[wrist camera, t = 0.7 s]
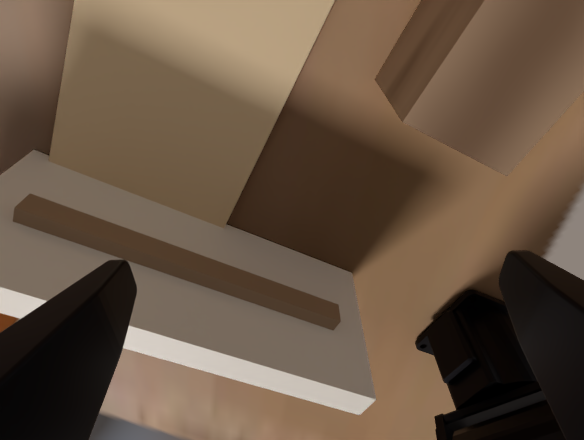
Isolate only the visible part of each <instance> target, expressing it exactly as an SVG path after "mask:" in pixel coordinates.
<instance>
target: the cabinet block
mask: <svg viewBox="0 0 584 440" xmlns="http://www.w3.org/2000/svg"><path fill="white" fill-rule="evenodd" d="M375 81H376V82H377V84H378V85H379V87H380V88H381V90H382V91H383V93H384V94H385V96H386V97H387V99H388V101H389V102H390V104H391V105H392V107H393V108H394V110H395V111H396V113H397V114H398V116H399V118H400V119H401V121H402V122H403V123H405V124H407V125H409V126H411V127H413V128H415V129H417V130H419V131H420V132H422V133H424V134H426V135H428V136H430V137H432V138H434V139H436V140H438V141H440V142H442V143H444V144H446V145H447V146H449V147H451V148H453V149H455V150H457V151H459V152H461V153H463V154H465V155H467V156H469V157H471V158H473V159H474V160H476V161H478V162H480V163H482V164H484V165H486V166H488V167H490V168H492V169H494V170H496V171H498V172H500V173H501V174H503V175H505V176H508V175H509V174H510V173H511V172H512V170H513V169H514V168H515V167H516V166H517V165H518V164H519V163H520V161H521V160H522V159H523V158H524V157H525V156H526V155H527V154H528V153H529V151H530V150H531V149H532V148H533V147H534V146H535V145H536V144H537V143H538V141H539V140H540V139H541V138H542V137H543V136H544V135H545V134H546V133H547V131H548V130H549V129H550V128H551V127H552V126H553V125H554V124H555V123H556V121H557V120H558V119H559V118H560V117H561V116H562V115H563V114H564V113H565V111H566V110H567V109H568V108H569V107H570V106H571V105H572V104H573V103H574V101H575V100H576V99H577V98H578V97H579V96H580V95H581V94H582V93H583V91H584V0H421V2H420V4H419V6H418V7H417V9H416V11H415V12H414V14H413V16H412V17H411V19H410V21H409V22H408V24H407V26H406V27H405V29H404V31H403V32H402V34H401V36H400V38H399V39H398V41H397V43H396V44H395V46H394V48H393V49H392V51H391V53H390V54H389V56H388V58H387V59H386V61H385V63H384V64H383V66H382V68H381V69H380V71H379V73H378V75H377V76H376V78H375Z"/></svg>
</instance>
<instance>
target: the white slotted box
mask: <svg viewBox="0 0 584 440" xmlns="http://www.w3.org/2000/svg"><path fill="white" fill-rule="evenodd" d="M334 1H335V0H75V1H74V7H73V13H72V19H71V25H70V32H69V38H68V44H67V50H66V56H65V62H64V69H63V75H62V81H61V87H60V93H59V99H58V106H57V112H56V118H55V124H54V130H53V137H52V143H51V149H50V155H46V154H44V153H41V152H39V151H36V150H33V151H31V152H30V153H29V154H27V155H26V156H25V157H23V158H22V159H21V160H19V161H18V162H17V163H15V164H14V165H13V166H12V167H10V168H9V169H8V170H6V171H5V172H4V173H2V174H1V175H0V313H2V314H6V315H9V316H13V317H16V318H20V319H21V318H23V317H24V316H26V315H27V314H29V313H30V312H32V311H33V310H35V309H36V308H38V307H39V306H41V305H42V304H44V303H45V302H47V301H48V300H50V299H51V298H53V297H54V296H56V295H57V294H59V293H60V292H62V291H63V290H65V289H66V288H68V287H69V286H71V285H72V284H74V283H75V282H77V281H78V280H80V279H81V278H83V277H84V276H86V275H87V274H89V273H90V272H92V271H93V270H95V269H96V268H98V267H99V266H101V265H102V264H104V263H105V262H107V261H108V260H123V259H124V260H127V261H128V262H129V264H130V267H131V270H132V273H133V276H134V279H135V282H136V285H137V295H136V299H135V303H134V307H133V311H132V315H131V319H130V323H129V327H128V330H127V334H126V338H125V342H124V346H123V348H125V349H129V350H132V351H136V352H139V353H143V354H146V355H150V356H153V357H157V358H160V359H164V360H167V361H171V362H174V363H178V364H181V365H185V366H188V367H192V368H195V369H199V370H202V371H206V372H209V373H213V374H217V375H220V376H224V377H227V378H231V379H234V380H238V381H241V382H245V383H248V384H252V385H255V386H259V387H262V388H266V389H269V390H273V391H276V392H280V393H283V394H287V395H290V396H294V397H297V398H301V399H304V400H308V401H311V402H315V403H318V404H322V405H326V406H329V407H333V408H336V409H340V410H343V411H347V412H350V413H354V414H357V415H360V414H361V413H362V412H363V411H364V410H366V409H367V408H368V407H369V406H370V405H371V404H372V403H373V402H374V401H375V400H376V396H375V391H374V386H373V381H372V375H371V370H370V365H369V360H368V354H367V349H366V344H365V339H364V333H363V328H362V323H361V317H360V312H359V307H358V302H357V296H356V291H355V286H354V281H353V275H352V273H351V272H348V271H346V270H343V269H341V268H338V267H336V266H333V265H330V264H328V263H325V262H323V261H320V260H318V259H315V258H312V257H310V256H307V255H305V254H302V253H299V252H297V251H294V250H292V249H289V248H287V247H284V246H281V245H279V244H276V243H274V242H271V241H268V240H266V239H263V238H261V237H258V236H256V235H253V234H250V233H248V232H245V231H243V230H240V229H237V228H235V227H232V226H230V225H227V224H226V223H227V221H228V219H229V217H230V215H231V213H232V211H233V209H234V207H235V205H236V203H237V201H238V199H239V197H240V194H241V192H242V190H243V188H244V186H245V184H246V182H247V180H248V178H249V176H250V174H251V172H252V170H253V168H254V166H255V164H256V162H257V159H258V157H259V155H260V153H261V151H262V149H263V147H264V145H265V143H266V141H267V139H268V137H269V135H270V133H271V131H272V129H273V127H274V124H275V122H276V120H277V118H278V116H279V114H280V112H281V110H282V108H283V106H284V104H285V102H286V100H287V98H288V96H289V94H290V92H291V89H292V87H293V85H294V83H295V81H296V79H297V77H298V75H299V73H300V71H301V69H302V67H303V65H304V63H305V61H306V59H307V57H308V55H309V52H310V50H311V48H312V46H313V44H314V42H315V40H316V38H317V36H318V34H319V32H320V30H321V28H322V26H323V24H324V22H325V20H326V17H327V15H328V13H329V11H330V9H331V7H332V5H333V3H334Z"/></svg>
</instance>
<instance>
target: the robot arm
mask: <svg viewBox="0 0 584 440" xmlns="http://www.w3.org/2000/svg"><path fill="white" fill-rule="evenodd" d="M499 287H500V290H501V293H502V296H503V299H504V301H505V302H502V301H500V300H498V299H495V298H493V297H490V296H488V295H485V294H483V293H481V292H478V291H476V290H469V291H466V292H465V293H464V294H463V295H462V296H461V297H460V298H459V299H458V300H457V301H456V302H455V303H454V304H453V305H452V306H451V307H450V308H449V309H448V310H447V311H446V312H445V313H444V314H443V315H442V316H440V317H439V318H438V319H437V320H436V321H435V322H434V323H433V324H432V325H431V326H430V327H429V328H428V329H427V330H426V331H425V332H424V333H423V334H422V335H421V336H420V337H419V338H418V339H417V340H416V342H415V344H416V347H417V349H418V350H420V351H423V352H426V353H429V354H432V355H434V357H435V359H436V362H437V365H438V368H439V371H440V373H441V376H442V379H443V381H444V383H447V386H448V388H449V391H450V394H451V397H452V399H453V402H454V405H455V408H456V410H455V411H453V412H450V413H447V414H440V415H437V416H435V423H436V436H437V440H584V280H582V279H580V278H578V277H576V276H575V275H573V274H571V273H569V272H567V271H565V270H564V269H562V268H560V267H558V266H556V265H554V264H553V263H550V262H549V261H547V260H545V259H543V258H541V257H540V256H538V255H536V254H534V253H532V252H530V251H527V250H516V251H510V252H508V254H507V255H506V258H505V261H504V264H503V267H502V270H501V273H500V276H499ZM136 295H137V285H136V282H135V279H134V276H133V273H132V270H131V267H130V264H129V262H128V261H127V260H124V259H123V260H108V261H107V262H105V263H104V264H102V265H101V266H99V267H98V268H96V269H95V270H93V271H92V272H90V273H89V274H87V275H86V276H84V277H83V278H81V279H80V280H78V281H77V282H75V283H74V284H72V285H71V286H69V287H68V288H66V289H65V290H63V291H62V292H60V293H59V294H57V295H56V296H54V297H53V298H51V299H50V300H48V301H47V302H45V303H44V304H42V305H41V306H39V307H38V308H36V309H35V310H33V311H32V312H30V313H29V314H27V315H26V316H24V317H23V318H21V319H20V320H18V321H17V322H15V323H14V324H12V325H11V326H9V327H8V328H6V329H5V330H3V331H2V332H0V440H89V437H90V434H91V432H92V429H93V427H94V424H95V421H96V419H97V416H98V414H99V411H100V408H101V406H102V403H103V400H104V398H105V395H106V393H107V390H108V387H109V385H110V382H111V379H112V377H113V374H114V371H115V369H116V366H117V364H118V361H119V358H120V355H121V352H122V349H123V346H124V342H125V338H126V334H127V330H128V327H129V323H130V319H131V315H132V311H133V307H134V303H135V299H136Z"/></svg>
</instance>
